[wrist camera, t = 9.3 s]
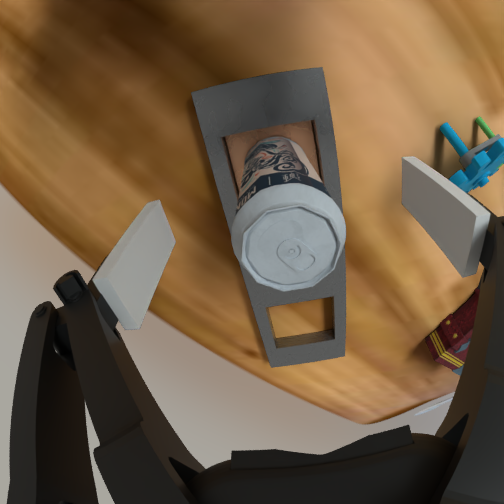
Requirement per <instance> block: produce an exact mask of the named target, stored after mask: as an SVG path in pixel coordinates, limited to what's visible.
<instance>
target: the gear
mask: <svg viewBox="0 0 504 504" xmlns="http://www.w3.org/2000/svg"><path fill="white" fill-rule="evenodd" d="M475 121H476V122H477V124H478V125H479V126H480V128H481V129H482V130H483V131H484V133H485V134H486V135H487V137H488V138H489V140H487V141H485V142H484V143H482V144H480V145H478V146H476V147H475V148H473V149H471V150H468V149H467V147H466V146H465V145H464V143H463V142H462V140H461V139H460V138H459V137H458V135H457V134H456V133H455V131H454V130H453V129H452V128H451V126H450V125H449V124H448V123H447V122H446V123H444V124H443V125H442V126H441V127H440V130H441V132H442V133H443V134H444V136H445V137H446V138H447V139H448V141H449V142H450V143H451V145H452V146H453V147H454V149H455V150H456V151H457V153H458V154H459V156H460V157H461V158H460V159H459V161H460V163H461V164H462V166H463V167H464V169H465V170H466V171H465V172H463V171H462V170H459V171H458V172H456V173H455V174H454V175H453V176H452V177H450V178H449V179H448V180H449V181H451V182H452V183H453V184H455V185H456V186H457V187H459V188H460V189H461V190H463V191H464V192H466V193H468V192H469V191H470V190H471V189H472V188H473V190H474V189H475V188H477V187H478V186H480V187H483V186H484V185H485V184H487V183H488V182H489V180H488V178H487V177H488V176H492V175H493V174H494V173H495V172H497V171H498V170H499V167H500V166H501V165H502V164H504V138H501V136H500V135H499V134H498V135H496V136H495V135H494V134H493V132H492V131H491V130H490V128H489V127H488V126H487V125H486V123H485V122H484V121H483V119H482V118H481V117H478V118H477V119H476V120H475ZM488 150H489V151H488ZM486 151H488V152H487V153H486Z"/></svg>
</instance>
